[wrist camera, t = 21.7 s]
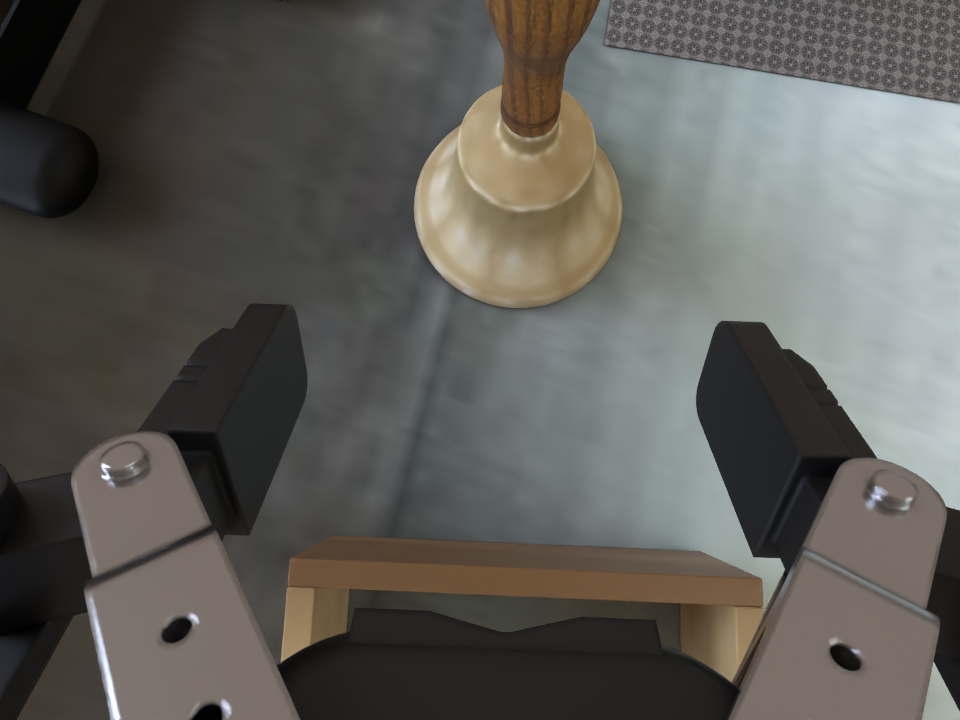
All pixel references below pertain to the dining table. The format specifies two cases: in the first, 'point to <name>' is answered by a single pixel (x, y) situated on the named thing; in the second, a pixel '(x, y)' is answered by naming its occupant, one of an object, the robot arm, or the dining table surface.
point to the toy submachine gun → (39, 117)
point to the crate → (527, 585)
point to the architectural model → (806, 39)
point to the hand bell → (522, 173)
